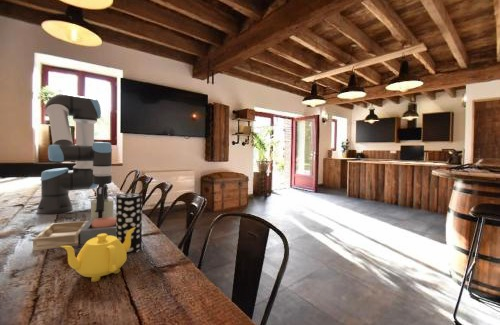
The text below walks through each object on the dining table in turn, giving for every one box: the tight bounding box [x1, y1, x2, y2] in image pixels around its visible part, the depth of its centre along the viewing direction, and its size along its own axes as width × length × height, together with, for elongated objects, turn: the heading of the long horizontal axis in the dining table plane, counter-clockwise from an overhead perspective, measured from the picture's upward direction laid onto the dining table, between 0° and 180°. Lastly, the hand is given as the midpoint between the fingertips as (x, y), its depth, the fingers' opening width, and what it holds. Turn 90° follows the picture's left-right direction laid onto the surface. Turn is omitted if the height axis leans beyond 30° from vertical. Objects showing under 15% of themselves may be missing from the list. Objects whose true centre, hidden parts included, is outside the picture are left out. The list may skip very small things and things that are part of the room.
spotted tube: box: [115, 192, 143, 255], centre depth 85 cm, size 8×8×20 cm
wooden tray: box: [32, 220, 88, 251], centre depth 93 cm, size 18×13×4 cm
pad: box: [92, 216, 116, 229], centre depth 98 cm, size 9×9×2 cm
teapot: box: [60, 227, 136, 283], centre depth 70 cm, size 20×15×12 cm
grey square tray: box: [79, 219, 116, 245], centre depth 98 cm, size 14×14×5 cm
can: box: [90, 198, 114, 220], centre depth 111 cm, size 9×9×12 cm
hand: (102, 222), depth 112 cm, fingers closed on can, 9 cm apart
